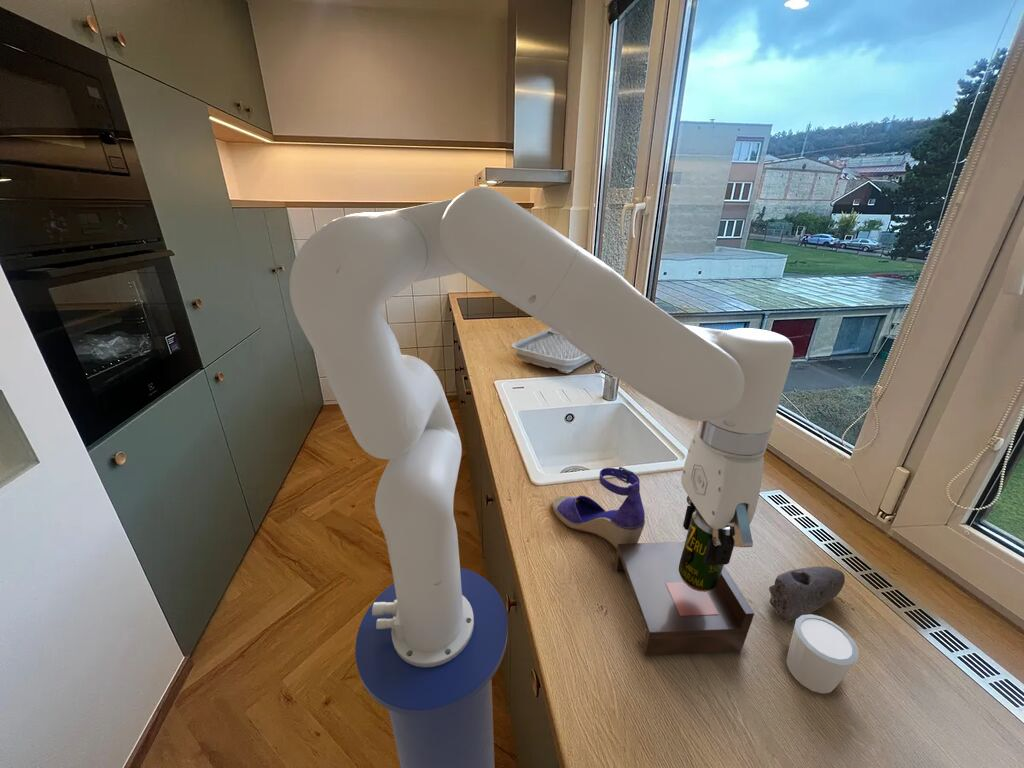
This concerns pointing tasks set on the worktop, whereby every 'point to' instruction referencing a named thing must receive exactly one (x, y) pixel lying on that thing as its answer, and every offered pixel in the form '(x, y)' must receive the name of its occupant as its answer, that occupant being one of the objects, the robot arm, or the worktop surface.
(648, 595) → the shelf
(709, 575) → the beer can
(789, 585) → the perforated stone tool
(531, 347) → the dish rack
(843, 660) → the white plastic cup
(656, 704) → the worktop surface
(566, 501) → the sandal
